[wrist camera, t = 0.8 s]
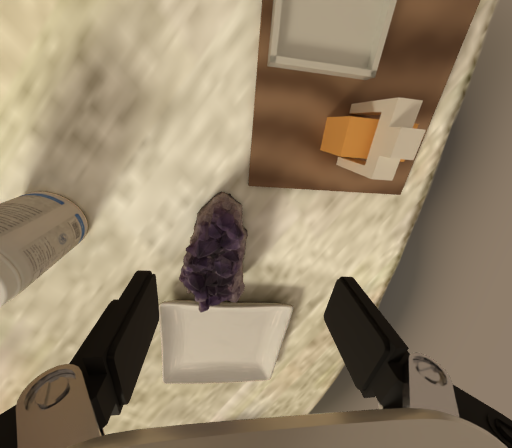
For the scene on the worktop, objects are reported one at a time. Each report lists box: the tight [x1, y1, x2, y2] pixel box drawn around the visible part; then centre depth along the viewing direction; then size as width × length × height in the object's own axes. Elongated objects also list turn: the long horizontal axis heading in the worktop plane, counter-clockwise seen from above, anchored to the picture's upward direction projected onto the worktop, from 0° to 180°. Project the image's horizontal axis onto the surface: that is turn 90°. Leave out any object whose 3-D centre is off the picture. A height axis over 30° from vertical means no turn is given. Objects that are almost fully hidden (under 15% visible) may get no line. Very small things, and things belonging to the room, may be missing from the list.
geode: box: [179, 192, 247, 313], centre depth 34 cm, size 20×12×10 cm, turn 172°
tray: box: [267, 0, 397, 80], centre depth 24 cm, size 11×14×2 cm
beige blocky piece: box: [336, 97, 426, 181], centre depth 26 cm, size 8×3×11 cm, turn 175°
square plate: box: [159, 300, 294, 384], centre depth 48 cm, size 27×27×4 cm
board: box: [248, 0, 480, 195], centre depth 29 cm, size 27×27×1 cm
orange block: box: [320, 116, 419, 162], centre depth 28 cm, size 4×9×6 cm, turn 85°
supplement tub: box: [0, 192, 88, 307], centre depth 26 cm, size 10×10×15 cm
